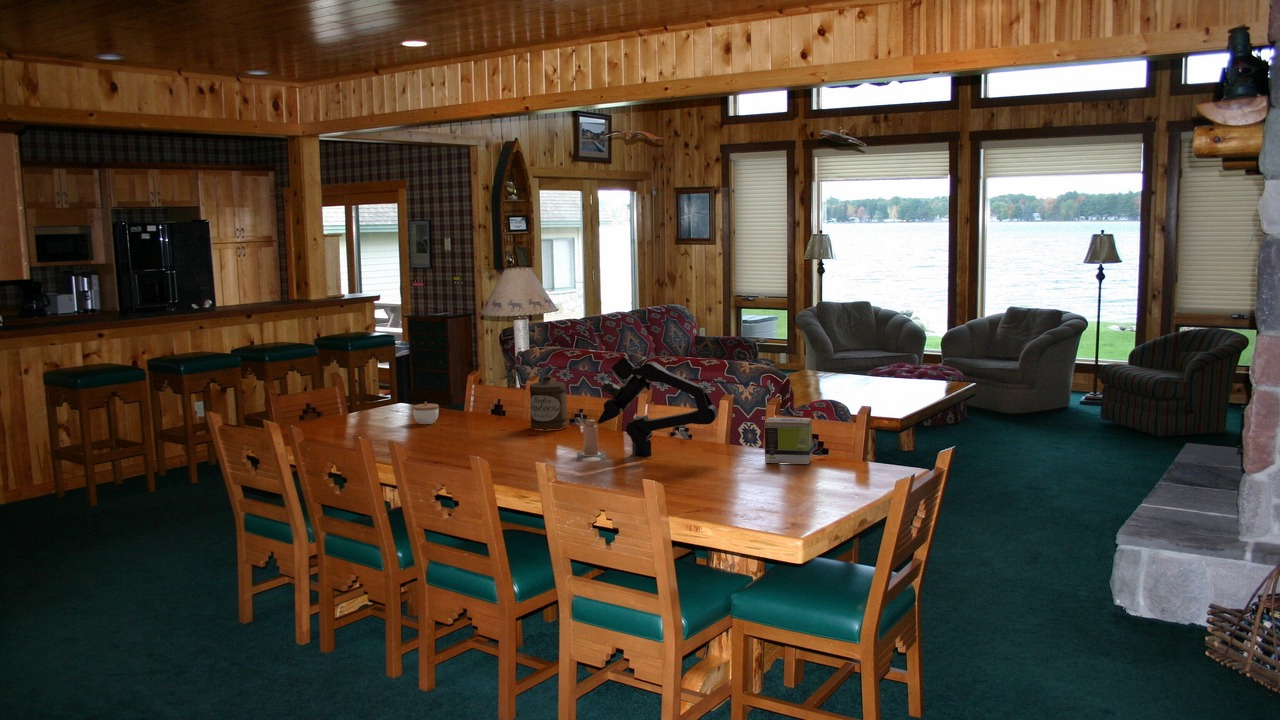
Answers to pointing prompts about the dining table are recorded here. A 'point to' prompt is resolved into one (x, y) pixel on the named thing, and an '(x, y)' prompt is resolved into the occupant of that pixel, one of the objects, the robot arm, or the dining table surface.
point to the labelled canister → (548, 404)
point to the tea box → (788, 440)
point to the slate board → (591, 457)
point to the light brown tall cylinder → (590, 437)
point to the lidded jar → (426, 413)
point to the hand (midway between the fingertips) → (601, 420)
